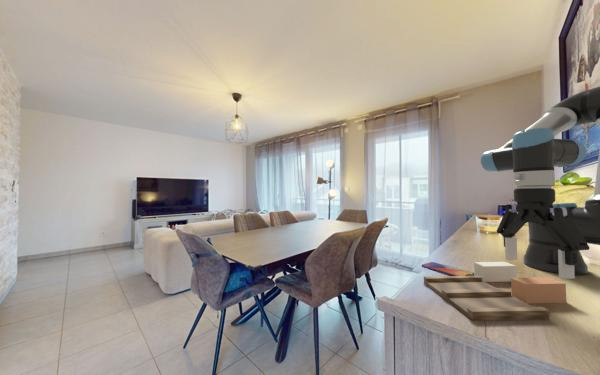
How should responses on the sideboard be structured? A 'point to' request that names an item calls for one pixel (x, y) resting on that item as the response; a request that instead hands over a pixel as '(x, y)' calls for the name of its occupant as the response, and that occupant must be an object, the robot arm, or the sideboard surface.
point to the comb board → (483, 299)
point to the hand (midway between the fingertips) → (535, 267)
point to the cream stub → (495, 271)
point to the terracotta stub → (538, 290)
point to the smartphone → (447, 269)
